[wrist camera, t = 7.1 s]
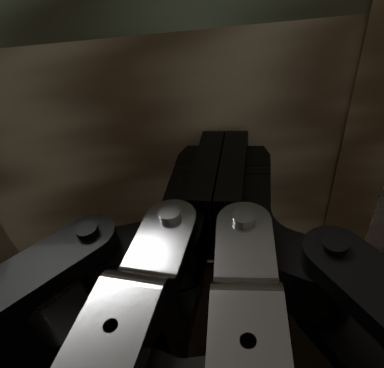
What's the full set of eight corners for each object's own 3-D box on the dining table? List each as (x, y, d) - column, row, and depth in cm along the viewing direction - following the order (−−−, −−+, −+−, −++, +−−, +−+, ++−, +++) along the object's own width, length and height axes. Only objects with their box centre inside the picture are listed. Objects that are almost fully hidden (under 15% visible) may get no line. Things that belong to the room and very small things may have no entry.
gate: (-1, 280, 16) (-215, -16, 9) (14, 250, 18) (-160, -28, 10) (358, 258, 16) (473, -90, 8) (344, 228, 17) (429, -92, 9)
